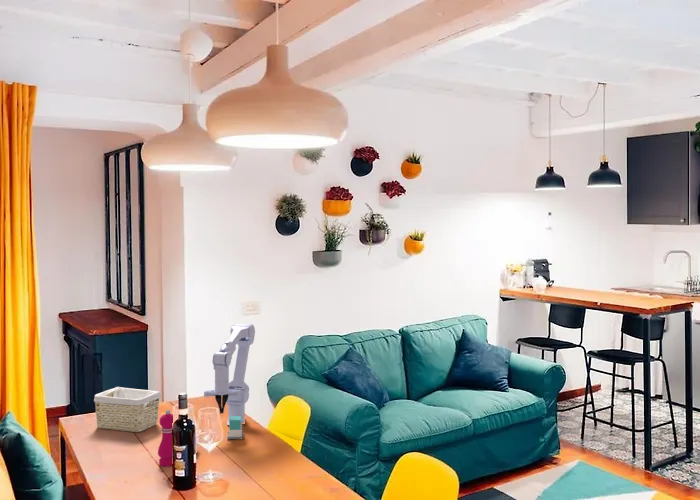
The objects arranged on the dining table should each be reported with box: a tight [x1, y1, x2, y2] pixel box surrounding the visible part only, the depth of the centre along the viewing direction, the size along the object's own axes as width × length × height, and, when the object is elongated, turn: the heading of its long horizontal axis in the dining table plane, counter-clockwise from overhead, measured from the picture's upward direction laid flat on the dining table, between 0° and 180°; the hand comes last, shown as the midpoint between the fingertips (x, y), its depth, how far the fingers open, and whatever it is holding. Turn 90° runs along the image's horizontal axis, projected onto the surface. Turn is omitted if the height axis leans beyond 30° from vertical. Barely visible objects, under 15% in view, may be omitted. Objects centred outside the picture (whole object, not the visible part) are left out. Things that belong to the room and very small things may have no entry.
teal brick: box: [228, 416, 241, 431], centre depth 273 cm, size 6×4×4 cm
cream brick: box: [228, 425, 243, 437], centre depth 273 cm, size 6×5×3 cm
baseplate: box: [227, 430, 244, 439], centre depth 273 cm, size 7×6×1 cm
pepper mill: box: [157, 409, 174, 467], centre depth 243 cm, size 7×7×20 cm
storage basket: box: [93, 386, 161, 433], centre depth 286 cm, size 24×16×15 cm
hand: (221, 412), depth 275 cm, fingers closed
